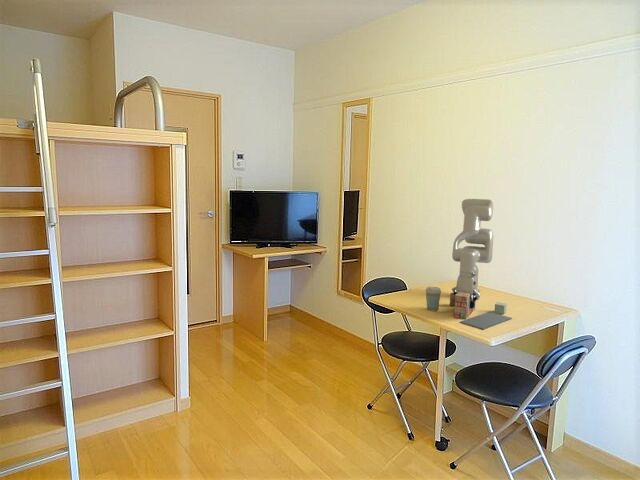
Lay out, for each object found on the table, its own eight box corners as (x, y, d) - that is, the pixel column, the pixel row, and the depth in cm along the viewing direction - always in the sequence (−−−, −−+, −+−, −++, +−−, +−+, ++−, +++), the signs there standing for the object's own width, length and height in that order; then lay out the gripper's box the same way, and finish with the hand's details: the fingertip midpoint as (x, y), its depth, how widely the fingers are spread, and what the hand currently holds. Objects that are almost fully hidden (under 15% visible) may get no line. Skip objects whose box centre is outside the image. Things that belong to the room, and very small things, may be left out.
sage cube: (496, 310, 248) (497, 302, 248) (506, 312, 246) (506, 303, 245) (494, 313, 244) (494, 304, 244) (503, 314, 242) (504, 305, 241)
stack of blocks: (463, 307, 254) (465, 286, 252) (475, 309, 251) (476, 287, 249) (453, 317, 236) (455, 294, 234) (466, 319, 233) (467, 296, 231)
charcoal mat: (488, 312, 244) (489, 311, 244) (511, 318, 234) (512, 317, 234) (459, 322, 227) (460, 321, 227) (483, 329, 217) (483, 328, 217)
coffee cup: (428, 306, 255) (429, 285, 254) (443, 309, 250) (444, 288, 248) (421, 309, 249) (422, 288, 247) (436, 312, 243) (437, 291, 242)
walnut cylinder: (453, 304, 260) (453, 292, 259) (460, 306, 257) (461, 294, 256) (447, 305, 257) (448, 293, 256) (455, 307, 254) (456, 295, 252)
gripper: (485, 276, 235) (483, 309, 238) (456, 270, 249) (455, 301, 251) (477, 278, 231) (475, 311, 233) (448, 272, 244) (447, 303, 246)
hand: (465, 306), depth 242 cm, fingers closed on stack of blocks, 7 cm apart
